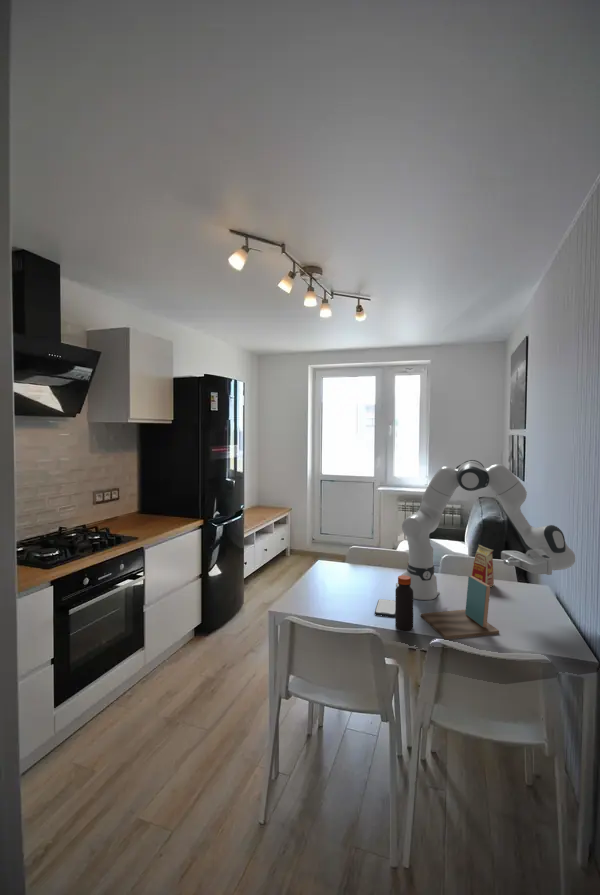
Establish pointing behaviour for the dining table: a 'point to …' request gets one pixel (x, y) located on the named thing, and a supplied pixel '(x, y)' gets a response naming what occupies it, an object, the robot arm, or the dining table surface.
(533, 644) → the dining table surface
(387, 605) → the phone case
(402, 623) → the bottle
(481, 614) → the tile
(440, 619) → the walnut board
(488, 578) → the milk carton
